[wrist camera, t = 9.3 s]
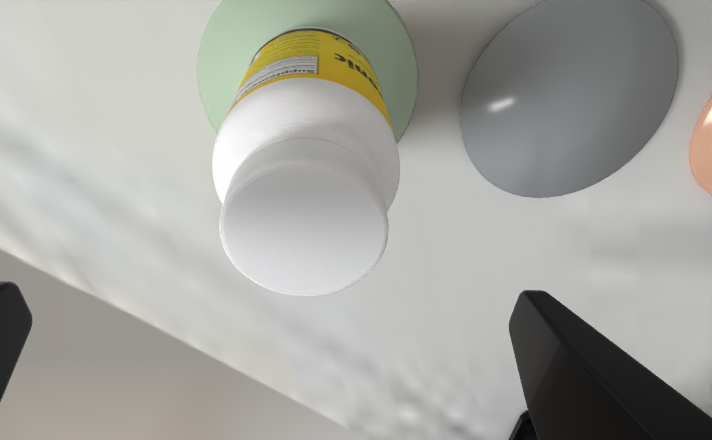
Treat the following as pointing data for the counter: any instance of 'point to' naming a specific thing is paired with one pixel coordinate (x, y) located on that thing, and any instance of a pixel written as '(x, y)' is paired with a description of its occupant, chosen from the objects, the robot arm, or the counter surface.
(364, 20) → the sage coaster
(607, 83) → the slate coaster
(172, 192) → the counter surface
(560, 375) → the robot arm
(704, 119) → the terracotta coaster
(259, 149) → the supplement bottle
